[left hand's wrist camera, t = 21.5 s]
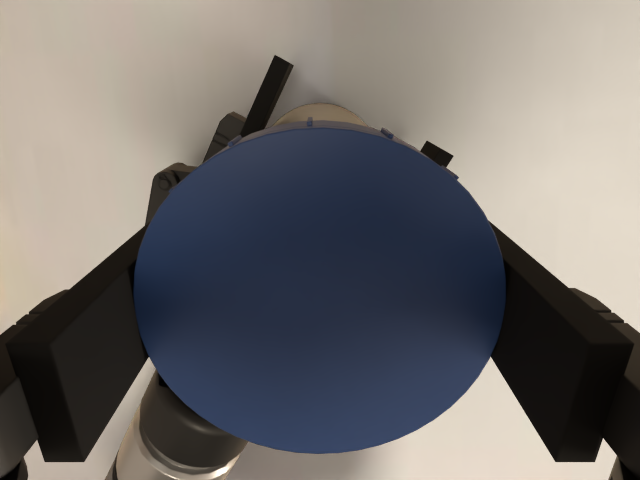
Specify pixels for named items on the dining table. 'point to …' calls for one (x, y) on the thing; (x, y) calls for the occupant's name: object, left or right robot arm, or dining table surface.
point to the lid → (319, 288)
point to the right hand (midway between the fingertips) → (364, 106)
